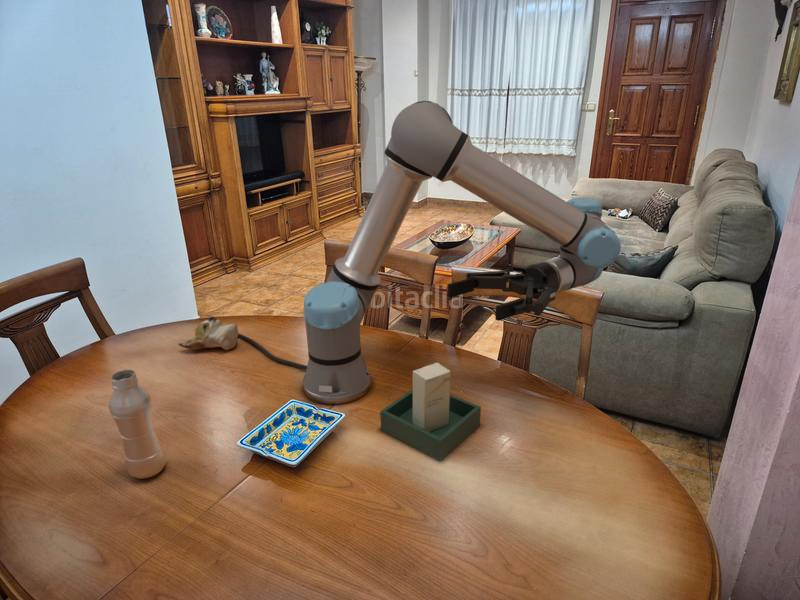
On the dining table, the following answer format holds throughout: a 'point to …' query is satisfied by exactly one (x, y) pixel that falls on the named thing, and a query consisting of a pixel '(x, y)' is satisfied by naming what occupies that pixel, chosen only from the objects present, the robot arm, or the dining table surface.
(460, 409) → the tote
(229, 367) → the dining table surface
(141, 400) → the plastic bottle
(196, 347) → the ceramic sculpture
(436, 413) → the cosmetic box
